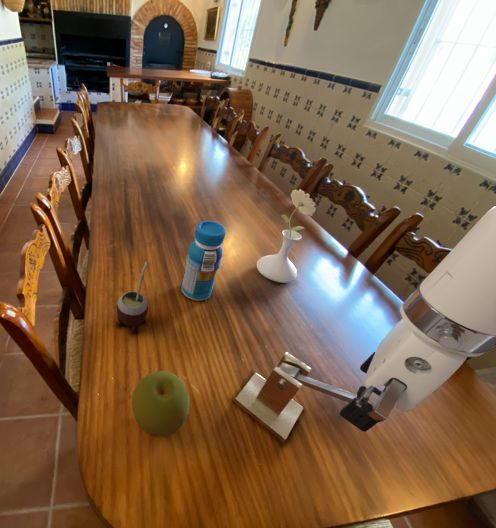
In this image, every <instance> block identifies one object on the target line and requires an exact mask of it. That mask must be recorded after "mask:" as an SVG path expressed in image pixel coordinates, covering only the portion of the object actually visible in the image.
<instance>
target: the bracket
mask: <svg viewBox="0 0 496 528" xmlns="http://www.w3.org/2000/svg"><path fill="white" fill-rule="evenodd" d="M282 363H285V364H288V365H291V366H294V367H297V368H299V370H300V375H303V376H306V377H308V375H309V373H310V372H311V371H312V368H311V367H310V366H308V365H307V364H306V363H304V362H302V361H301V360H299V359H298V358H296V357H295V356H293V355H292V354H291V353H289V352H287V351H285V353H284V354H283V356H282V357H281V359H280V361H279V362H278V364H277V365H275V367H274V368H273V369H272V371H271V373H270V374H269V376H268V377H267V379H266V378H264V377H263V376H262V375H261V374H259V373H257V372H256V371H255V372H254V373H253V375H252V376H251V377H250V379H249V380H248V381H247V383H246V384H245V385H244V386H243V388H241V390H240V392H239V393H238V394H237V396H236V397H235V398H234V400H233V403H235V404H236V405H237V406H239V408H241V409H242V410H243V411H245V412H246V413H247V414H248V415H250V416H251V417H252V418H253V419H254V420H255V421H256V422H258V423H259V424H260V425H261V426H263V427H264V428H265V429H266V430H267V431H269V432H270V433H271V434H272V435H274V436H275V437H276V438H277V439H278V440H279V441H281V442H282V443H285V441H286V440H287V438H288V437H289V435H290V433H291V431H292V430H293V428H294V426H295V424H296V422H297V421H298V419H299V418H300V415H301V413H302V411H303V410H304V407H303V406H302V405H301V404H300V403H298V402H297V401H296V400H294V399H293V398H294V396H295V395H296V394H297V393H298V391H299V390H300V389H301V387H302V386H303V385H302V384H301V383H300V382H298V381H297V380H295V379H294V378H292V377H291V376H290V375H288V374H287V373H285V372H284V371H282V370H281V369H280V368H279V367H280V365H281V364H282Z"/></svg>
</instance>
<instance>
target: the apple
mask: <svg viewBox="0 0 496 528" xmlns="http://www.w3.org/2000/svg"><path fill="white" fill-rule="evenodd" d="M190 404H191V397H190V395H189V392H188V390H187V387H186V385H185V382H184V381H183V380H182V379H181V378H180V377H179V376H177V375H176V374H174V373H172V372H170V371H167V370H157V371H153V372H150V373H148V374H147V375H146V376H144V377H143V378H142V379H141V380H139V382H137V384H136V386H135V388H134V389H133V390H132V397H131V410H132V413H133V417H134V419H135V422H136V423H137V424H138V426H139V427H140V428H141V429H142V430H143V431H144V432H146V433H148V434H150V435H152V436H155V437H168V436H172V435H176V434H177V432H178V431H180V429H182V428H183V427H184V424H185V423H186V420H187V418H188V414H189V412H190V408H191V405H190Z"/></svg>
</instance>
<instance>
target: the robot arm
mask: <svg viewBox="0 0 496 528" xmlns="http://www.w3.org/2000/svg"><path fill="white" fill-rule="evenodd" d="M399 313H400V316H401V318H400V320H399V321H398V322H397V323H396V324H395V325H394V326H393V327H392V328H391V329H390V330H389V332H388V333H386V334H385V336H384V337H383V339H382V340H381V341H380V343H379V344H378V345H377V348H376V350H375V351H373V352H372V354H371V355H369V356H368V358H366V359H365V360H364V361H363V363H362V364H361V365H360V367H359V370H360V371H361V372H362V373H364V374H365V376H364V379H363V384H364V386H365V387H366V389H365V390H364V391H363V393H362V394H361V396H360V397H359V398H354V399H353V400H352V401H350V402H347V404H346V405H345V406H344V407H342V409H341V410H340V411H339V415H340V417H342V418H343V419H344V420H346V421H347V422H348V423H350V424H351V425H352V426H354V427H356V428H357V429H358V430H360V431H361V432H368V431H369V430H370V429H371V428H373V427H374V426H376V425H377V424H379V423H381V422H384V421H386V420H388V418H389V417H390V416H391V413H392V412H393V410H394V408H396V409H397V410H400V411H401V412H402V413H409V412H411V411H412V410H413V409H415V408H416V407H417V406H418V405H420V404H421V403H422V402H423V401H424V400H426V399H427V398H428V397H429V396H431V395H432V394H433V393H434V392H435V391H436V390H438V389H439V388H440V387H441V386H442V385H443V384H444V383H446V382H447V381H448V380H449V379H450V378H451V377H452V376H453V375H454V374H455V373H456V371H458V370H459V368H460V367H461V366H462V365H463V364H464V363H465V361H466V360H467V358H475V357H481V356H483V355H484V354H485V353H487V352H488V351H489V350H490V349H492V348H493V347H495V346H496V205H494V206H493V207H492V208H490V209H489V210H488V211H487V212H486V213H484V214H483V216H481V218H480V219H479V220H478V221H476V223H475V224H474V225H473V226H472V227H471V228H470V230H469V231H468V232H466V234H465V235H464V236H463V237H462V239H460V241H458V242H457V244H456V245H455V246H454V247H453V248H452V249H451V251H450V252H448V254H447V255H446V256H445V257H444V258H443V259H442V260H441V261H440V262H439V264H437V266H436V267H435V268H434V269H433V270H432V271H430V273H429V274H428V275H427V277H426V278H425V279H424V280H423V281H422V282H421V283H420V284H419V285H418V286H417V287H416V289H414V290H413V292H412V293H411V294H410V295H409V296H408V297H407V298H406V299H405V300H404V301H403V302H402V304H401V305H400V308H399ZM382 386H384V387H383V389H382V390H381V389H379V387H382ZM377 387H378V388H377ZM372 394H375V395H377V396H378V398H377V400H376V401H375V402H374V403H372V404H371V403H370V402H369V401H368V402H367V401H366V400H367V399H368V398H369V399H370V397H371V395H372ZM369 396H370V397H369Z"/></svg>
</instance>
